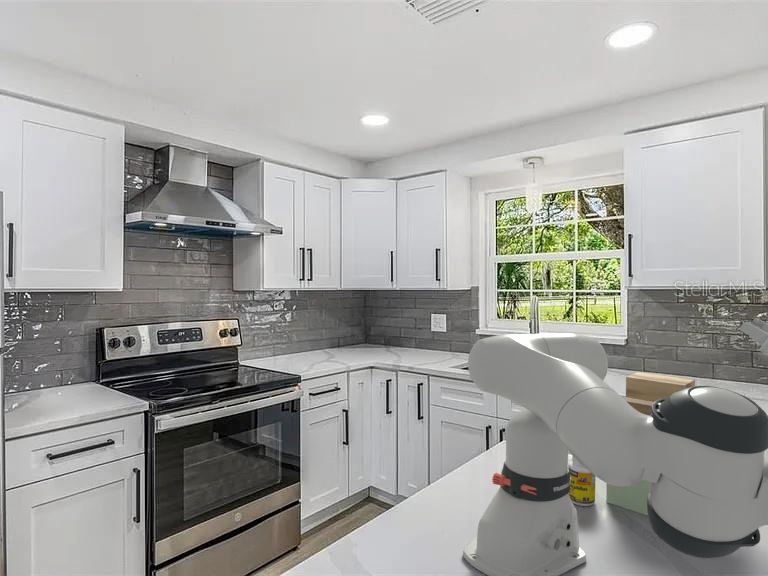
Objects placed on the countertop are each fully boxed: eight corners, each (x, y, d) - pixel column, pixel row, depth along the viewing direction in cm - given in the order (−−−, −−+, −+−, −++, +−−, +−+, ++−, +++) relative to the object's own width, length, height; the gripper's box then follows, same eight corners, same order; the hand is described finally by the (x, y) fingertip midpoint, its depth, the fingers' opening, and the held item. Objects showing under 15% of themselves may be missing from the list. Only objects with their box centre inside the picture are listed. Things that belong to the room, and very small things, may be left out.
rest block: (656, 518, 102) (657, 426, 101) (606, 502, 109) (607, 416, 108) (666, 506, 106) (668, 419, 106) (618, 492, 114) (619, 409, 113)
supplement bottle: (563, 501, 109) (564, 455, 109) (573, 493, 113) (574, 448, 113) (589, 510, 105) (590, 462, 105) (599, 501, 109) (599, 455, 109)
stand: (682, 504, 107) (684, 385, 107) (624, 487, 116) (626, 376, 115) (692, 493, 113) (694, 379, 112) (636, 477, 122) (638, 371, 121)
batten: (715, 435, 95) (715, 417, 95) (599, 412, 111) (599, 396, 111) (719, 431, 98) (720, 413, 98) (606, 408, 114) (606, 393, 113)
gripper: (810, 391, 82) (724, 342, 90) (822, 373, 96) (747, 332, 104) (837, 360, 79) (746, 312, 87) (845, 346, 93) (766, 306, 102)
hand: (747, 323), depth 96 cm, fingers open, 8 cm apart
